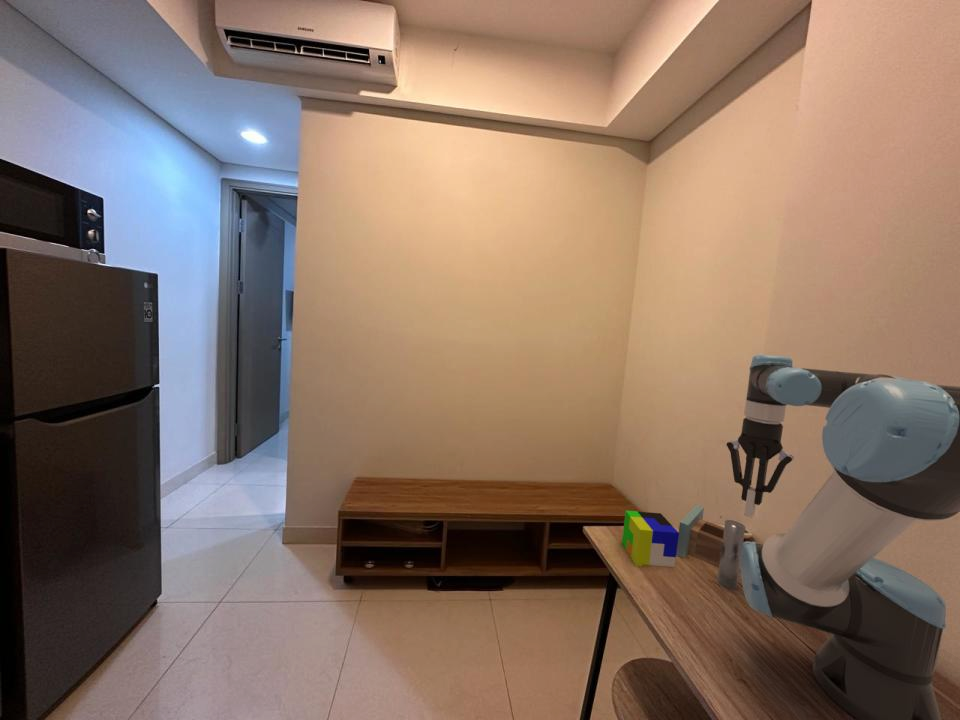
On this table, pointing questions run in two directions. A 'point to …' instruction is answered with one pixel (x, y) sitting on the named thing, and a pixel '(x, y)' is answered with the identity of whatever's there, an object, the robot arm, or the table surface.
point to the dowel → (730, 554)
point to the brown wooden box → (706, 541)
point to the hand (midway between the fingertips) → (749, 514)
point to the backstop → (687, 529)
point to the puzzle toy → (650, 539)
